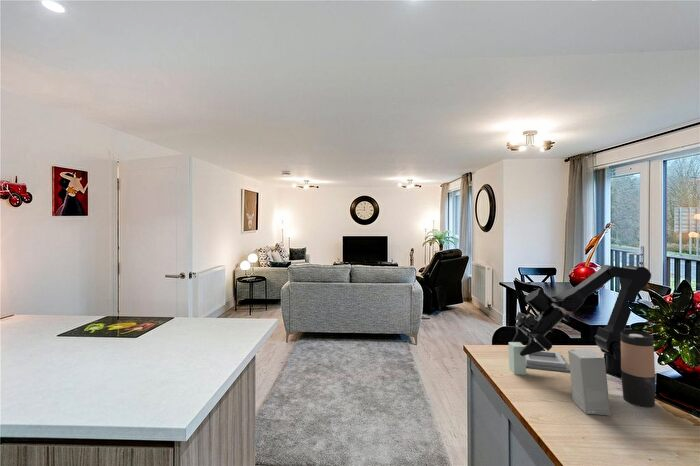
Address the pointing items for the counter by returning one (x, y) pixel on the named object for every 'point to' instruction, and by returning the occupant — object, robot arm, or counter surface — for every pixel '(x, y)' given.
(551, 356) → the charging dock
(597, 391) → the skincare box
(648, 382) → the travel mug
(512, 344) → the rectangular block
